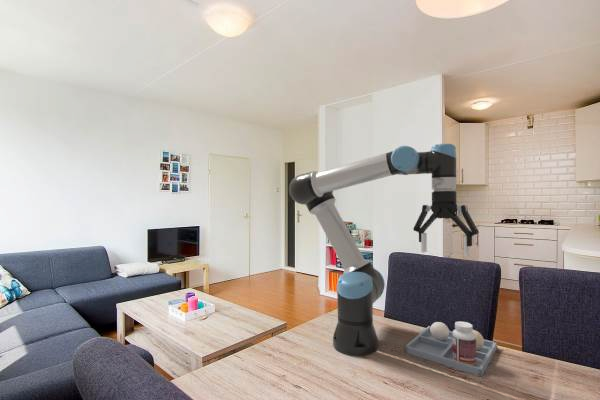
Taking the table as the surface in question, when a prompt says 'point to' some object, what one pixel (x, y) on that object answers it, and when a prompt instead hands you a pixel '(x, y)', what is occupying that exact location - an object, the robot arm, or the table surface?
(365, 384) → the table surface
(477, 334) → the egg brown
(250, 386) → the table surface
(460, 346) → the pill bottle
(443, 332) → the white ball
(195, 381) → the table surface
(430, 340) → the divided tray
